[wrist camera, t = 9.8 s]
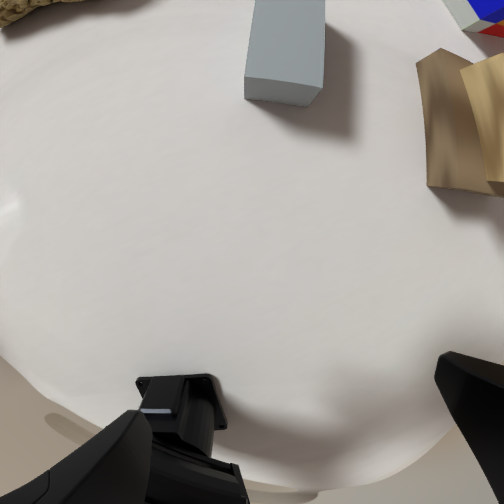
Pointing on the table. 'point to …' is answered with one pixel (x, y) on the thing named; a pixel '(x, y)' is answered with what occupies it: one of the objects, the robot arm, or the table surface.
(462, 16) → the puzzle toy
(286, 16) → the grey block
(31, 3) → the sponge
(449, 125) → the walnut block
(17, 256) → the table surface
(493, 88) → the oak block
